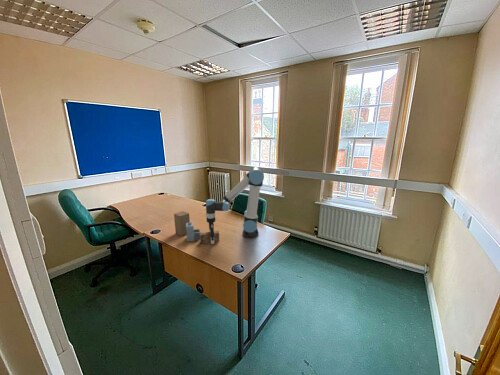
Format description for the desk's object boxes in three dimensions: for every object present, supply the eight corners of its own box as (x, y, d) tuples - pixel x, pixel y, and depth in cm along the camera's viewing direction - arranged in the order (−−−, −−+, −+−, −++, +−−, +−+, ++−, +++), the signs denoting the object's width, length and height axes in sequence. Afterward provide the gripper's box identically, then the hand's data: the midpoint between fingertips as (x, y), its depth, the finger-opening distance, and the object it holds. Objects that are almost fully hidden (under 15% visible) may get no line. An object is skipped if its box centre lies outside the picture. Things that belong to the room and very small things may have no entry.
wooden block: (184, 229, 204) (183, 210, 200) (190, 232, 198) (189, 213, 193) (175, 233, 197) (173, 213, 192) (181, 236, 191) (179, 216, 186)
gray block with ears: (199, 235, 192) (198, 219, 188) (200, 239, 185) (199, 222, 181) (187, 237, 189) (186, 220, 185) (187, 241, 182) (185, 224, 178)
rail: (218, 239, 186) (218, 230, 184) (219, 241, 182) (219, 232, 180) (200, 241, 182) (199, 233, 180) (200, 243, 178) (200, 235, 176)
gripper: (205, 212, 188) (206, 234, 193) (207, 223, 165) (208, 247, 170) (213, 211, 190) (214, 233, 195) (217, 222, 167) (217, 246, 172)
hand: (211, 239), depth 182 cm, fingers open, 13 cm apart
